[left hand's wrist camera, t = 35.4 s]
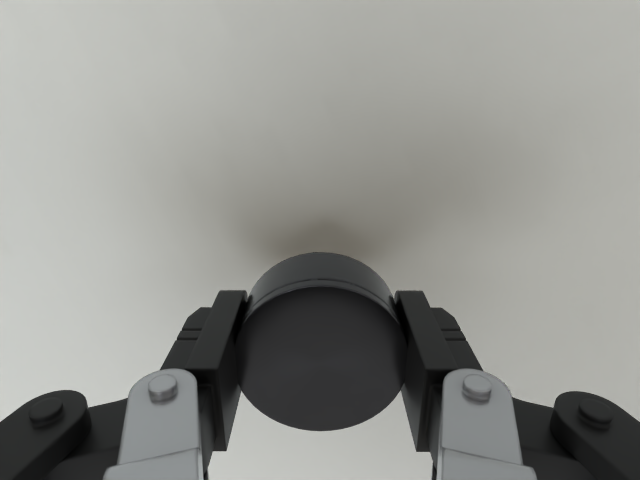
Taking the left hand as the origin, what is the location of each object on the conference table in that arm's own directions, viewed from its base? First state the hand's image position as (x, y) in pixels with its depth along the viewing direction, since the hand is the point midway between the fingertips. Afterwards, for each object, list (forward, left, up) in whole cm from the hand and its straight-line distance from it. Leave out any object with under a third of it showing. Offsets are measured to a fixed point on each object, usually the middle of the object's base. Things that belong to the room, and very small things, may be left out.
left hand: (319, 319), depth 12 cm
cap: (0, 0, +2) cm, 2 cm away
